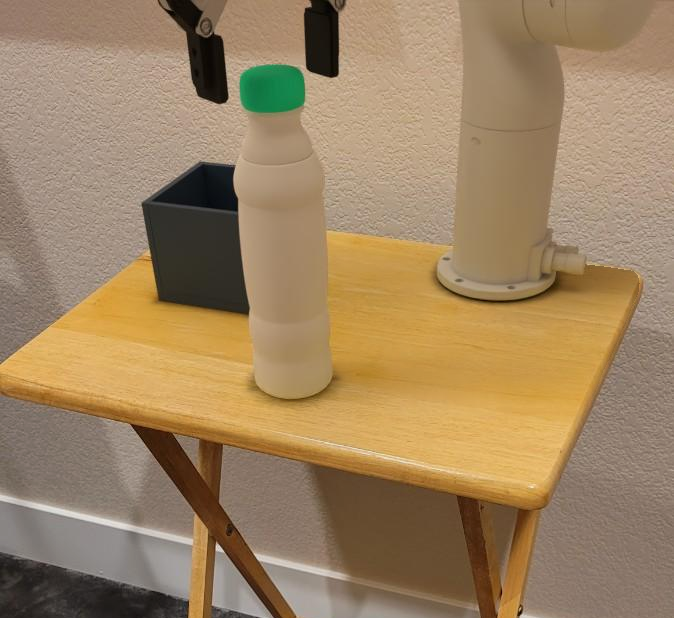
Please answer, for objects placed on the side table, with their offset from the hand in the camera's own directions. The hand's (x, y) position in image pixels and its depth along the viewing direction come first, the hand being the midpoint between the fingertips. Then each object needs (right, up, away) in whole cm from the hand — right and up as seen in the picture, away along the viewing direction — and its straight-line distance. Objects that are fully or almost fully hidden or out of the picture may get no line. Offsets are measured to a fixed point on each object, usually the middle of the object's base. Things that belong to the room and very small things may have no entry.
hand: (269, 86), depth 63 cm
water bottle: (+1, -17, +17) cm, 24 cm away
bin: (-6, -3, +32) cm, 33 cm away
